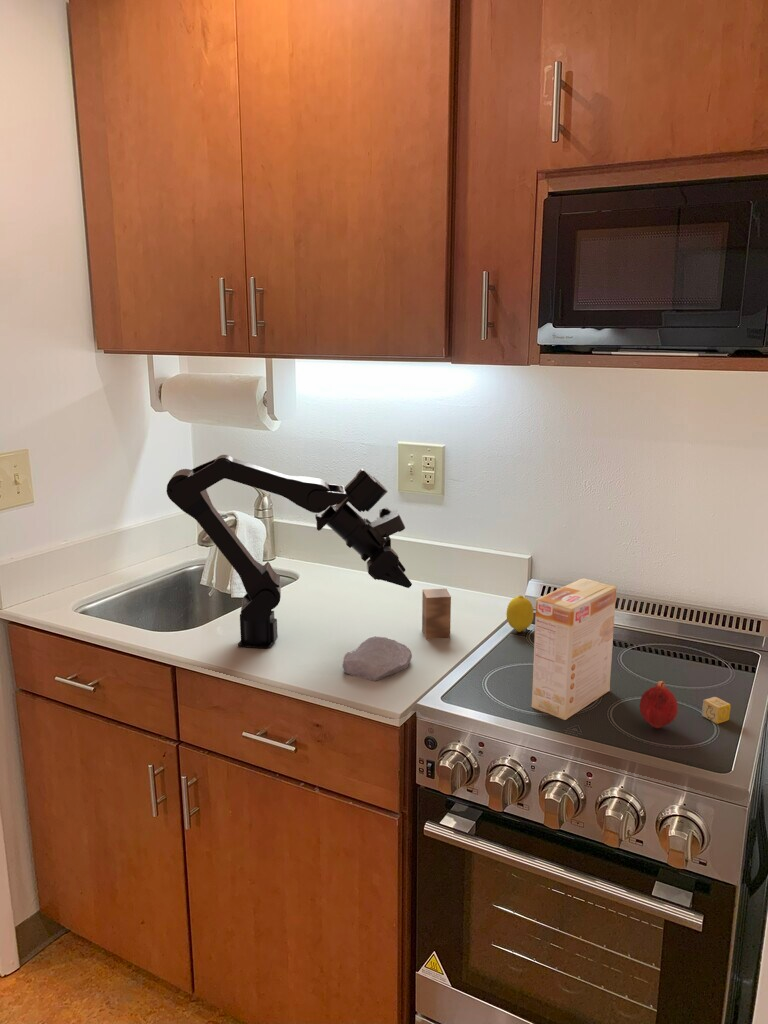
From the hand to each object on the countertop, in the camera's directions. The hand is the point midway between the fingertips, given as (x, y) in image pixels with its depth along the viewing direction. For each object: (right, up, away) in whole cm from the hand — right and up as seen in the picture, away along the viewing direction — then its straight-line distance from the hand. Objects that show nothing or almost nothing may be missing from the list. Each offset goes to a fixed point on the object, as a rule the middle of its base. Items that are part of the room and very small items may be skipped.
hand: (407, 578), depth 165 cm
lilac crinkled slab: (-5, -16, -12) cm, 21 cm away
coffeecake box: (+28, -19, -24) cm, 41 cm away
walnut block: (+6, -12, +4) cm, 14 cm away
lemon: (+23, -12, +5) cm, 27 cm away
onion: (+39, -21, -34) cm, 56 cm away
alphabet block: (+50, -21, -31) cm, 62 cm away
